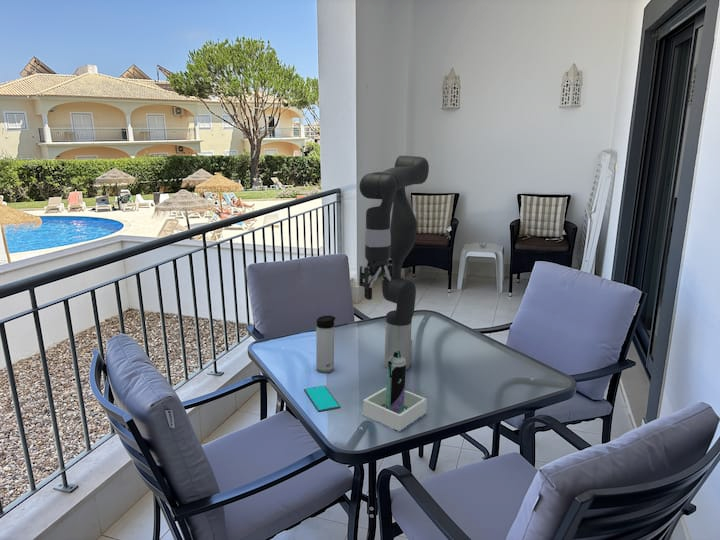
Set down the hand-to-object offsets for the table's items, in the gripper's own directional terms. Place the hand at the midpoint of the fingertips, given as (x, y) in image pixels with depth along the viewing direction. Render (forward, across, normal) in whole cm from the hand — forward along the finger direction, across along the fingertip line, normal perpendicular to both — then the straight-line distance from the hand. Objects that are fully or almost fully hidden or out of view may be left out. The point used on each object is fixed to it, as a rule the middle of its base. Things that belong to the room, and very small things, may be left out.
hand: (377, 295), depth 153 cm
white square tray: (+34, +4, +10) cm, 36 cm away
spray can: (+34, +4, +10) cm, 36 cm away
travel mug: (+35, -5, -26) cm, 44 cm away
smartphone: (+35, +12, -13) cm, 39 cm away
